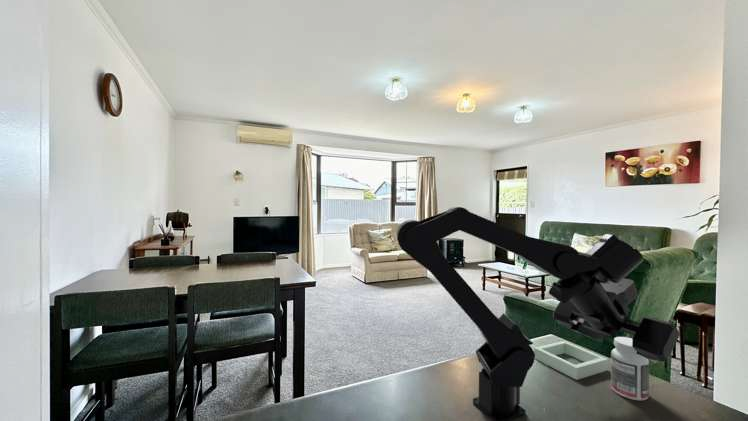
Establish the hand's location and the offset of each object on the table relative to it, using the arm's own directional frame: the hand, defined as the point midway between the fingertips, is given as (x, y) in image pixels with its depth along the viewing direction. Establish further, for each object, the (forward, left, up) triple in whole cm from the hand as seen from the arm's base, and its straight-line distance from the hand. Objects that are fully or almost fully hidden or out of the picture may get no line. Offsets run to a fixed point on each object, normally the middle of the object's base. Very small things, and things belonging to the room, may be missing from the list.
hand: (627, 349), depth 60 cm
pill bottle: (+1, 0, -9) cm, 9 cm away
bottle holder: (+1, +12, -9) cm, 15 cm away
